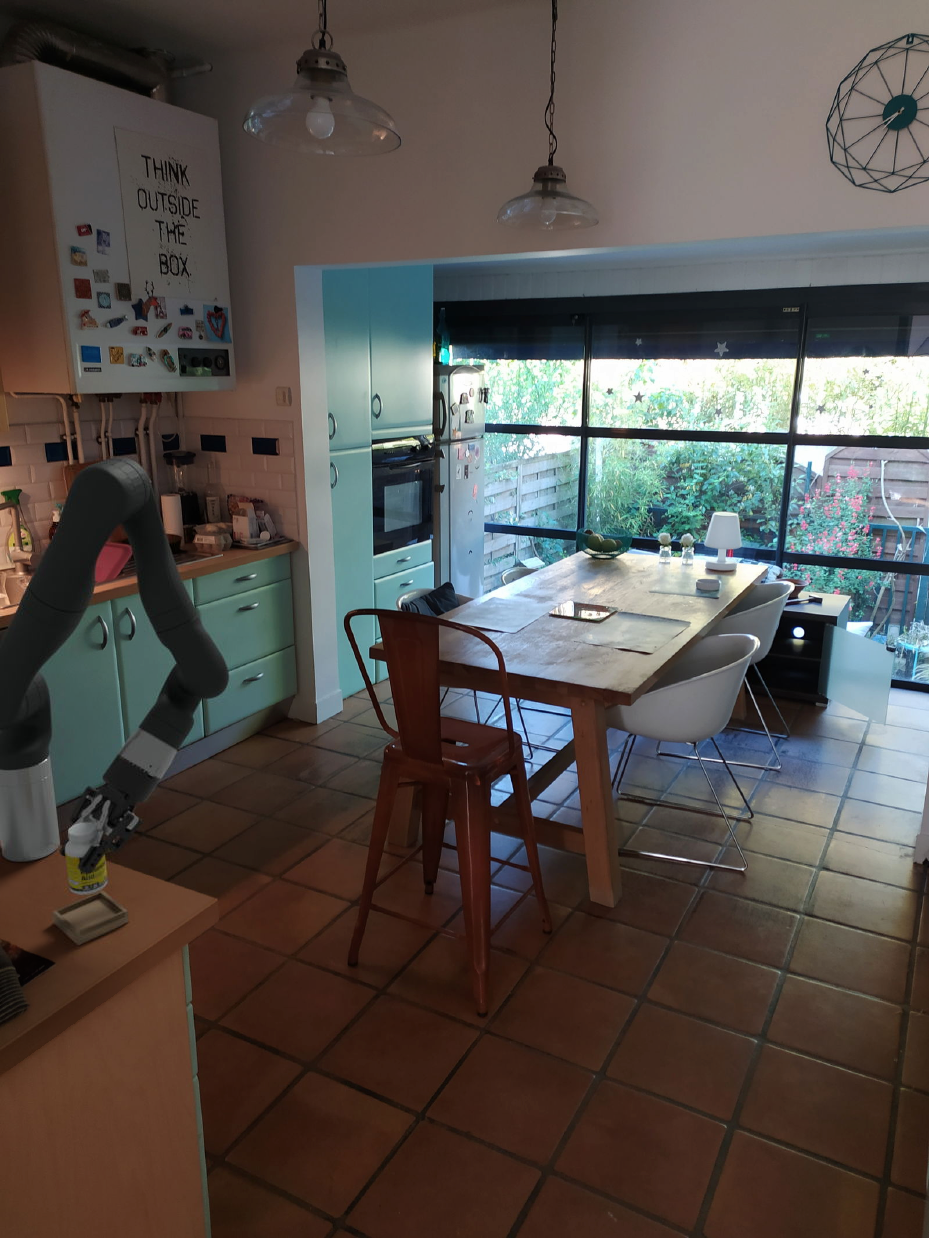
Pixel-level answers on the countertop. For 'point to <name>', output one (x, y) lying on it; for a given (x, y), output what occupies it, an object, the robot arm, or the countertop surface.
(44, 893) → the countertop surface
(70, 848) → the supplement bottle
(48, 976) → the countertop surface
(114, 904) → the wooden tray
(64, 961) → the countertop surface
